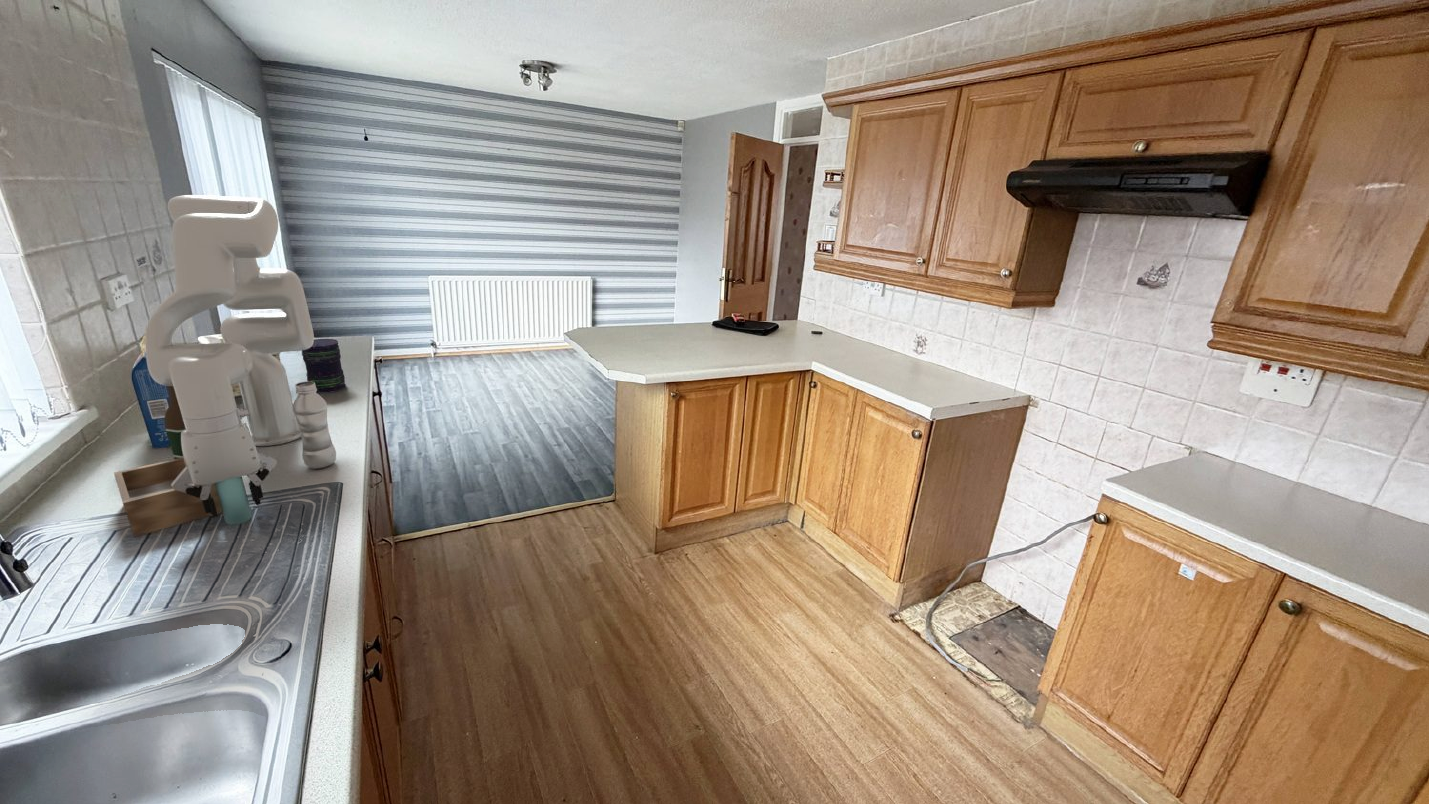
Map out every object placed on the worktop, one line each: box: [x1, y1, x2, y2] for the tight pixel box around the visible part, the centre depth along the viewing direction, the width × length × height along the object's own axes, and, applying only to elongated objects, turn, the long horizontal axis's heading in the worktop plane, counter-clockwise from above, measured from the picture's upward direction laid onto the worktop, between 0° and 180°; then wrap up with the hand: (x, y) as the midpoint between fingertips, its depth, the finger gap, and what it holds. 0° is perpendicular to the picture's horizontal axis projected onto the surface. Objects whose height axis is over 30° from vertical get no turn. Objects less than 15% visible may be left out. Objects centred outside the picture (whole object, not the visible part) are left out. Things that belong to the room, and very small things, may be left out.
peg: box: [215, 476, 253, 526], centre depth 107 cm, size 4×4×10 cm
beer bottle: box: [164, 386, 186, 460], centre depth 122 cm, size 8×8×24 cm
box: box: [113, 457, 223, 538], centre depth 111 cm, size 16×16×7 cm
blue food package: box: [131, 334, 171, 449], centre depth 136 cm, size 6×12×25 cm, turn 40°
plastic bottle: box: [292, 380, 337, 470], centre depth 127 cm, size 6×7×20 cm
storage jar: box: [301, 338, 347, 394], centre depth 176 cm, size 10×10×15 cm
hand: (235, 507), depth 108 cm, fingers open, 5 cm apart
